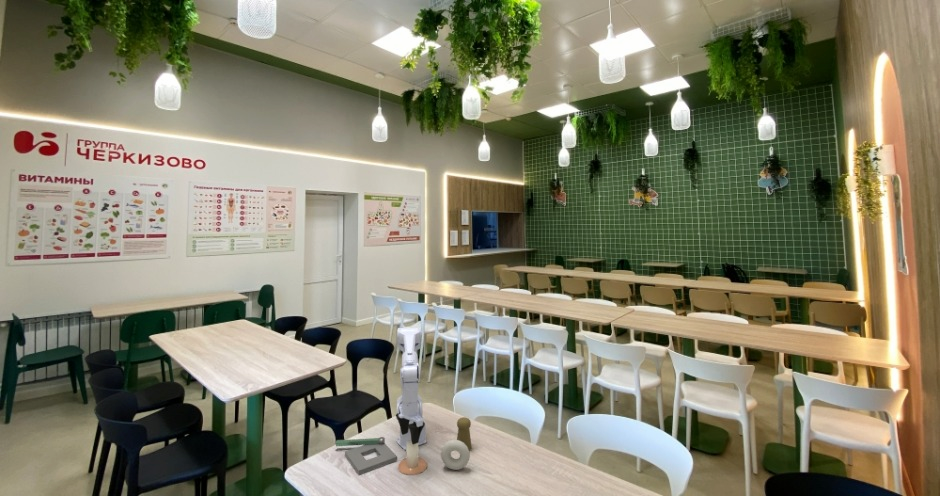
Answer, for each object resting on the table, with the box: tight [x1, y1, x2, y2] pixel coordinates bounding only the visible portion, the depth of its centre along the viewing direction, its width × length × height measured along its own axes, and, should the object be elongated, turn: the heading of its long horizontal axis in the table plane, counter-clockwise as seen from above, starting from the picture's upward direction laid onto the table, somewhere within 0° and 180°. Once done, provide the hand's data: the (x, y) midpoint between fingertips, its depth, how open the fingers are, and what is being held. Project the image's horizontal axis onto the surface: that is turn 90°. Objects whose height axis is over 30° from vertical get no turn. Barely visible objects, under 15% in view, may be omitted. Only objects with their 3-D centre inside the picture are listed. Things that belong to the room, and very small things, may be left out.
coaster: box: [397, 456, 428, 476], centre depth 134 cm, size 10×10×1 cm
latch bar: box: [335, 436, 386, 447], centre depth 144 cm, size 18×2×2 cm, turn 97°
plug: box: [406, 440, 419, 468], centre depth 133 cm, size 4×4×8 cm
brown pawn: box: [456, 416, 473, 452], centre depth 145 cm, size 6×6×11 cm
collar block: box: [344, 443, 398, 476], centre depth 138 cm, size 14×14×2 cm
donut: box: [440, 439, 471, 471], centre depth 132 cm, size 10×4×10 cm, turn 82°
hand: (409, 438), depth 134 cm, fingers open, 7 cm apart
